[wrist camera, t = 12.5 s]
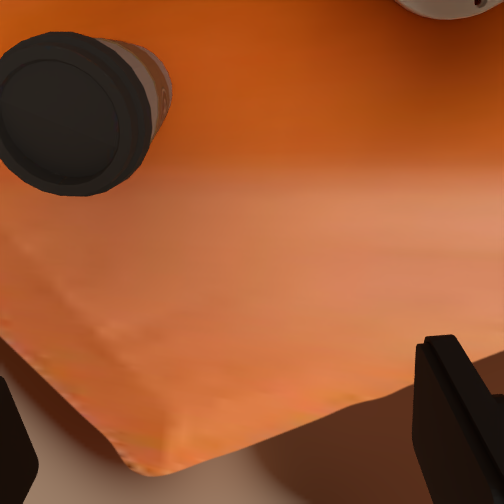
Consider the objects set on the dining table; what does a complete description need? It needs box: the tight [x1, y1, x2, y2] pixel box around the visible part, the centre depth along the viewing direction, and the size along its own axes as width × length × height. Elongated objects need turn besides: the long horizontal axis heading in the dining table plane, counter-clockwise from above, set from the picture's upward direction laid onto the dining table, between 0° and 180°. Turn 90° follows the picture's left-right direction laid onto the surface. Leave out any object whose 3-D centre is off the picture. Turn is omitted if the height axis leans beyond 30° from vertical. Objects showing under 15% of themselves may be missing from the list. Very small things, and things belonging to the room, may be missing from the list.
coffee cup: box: [0, 32, 172, 196], centre depth 30 cm, size 8×8×15 cm
